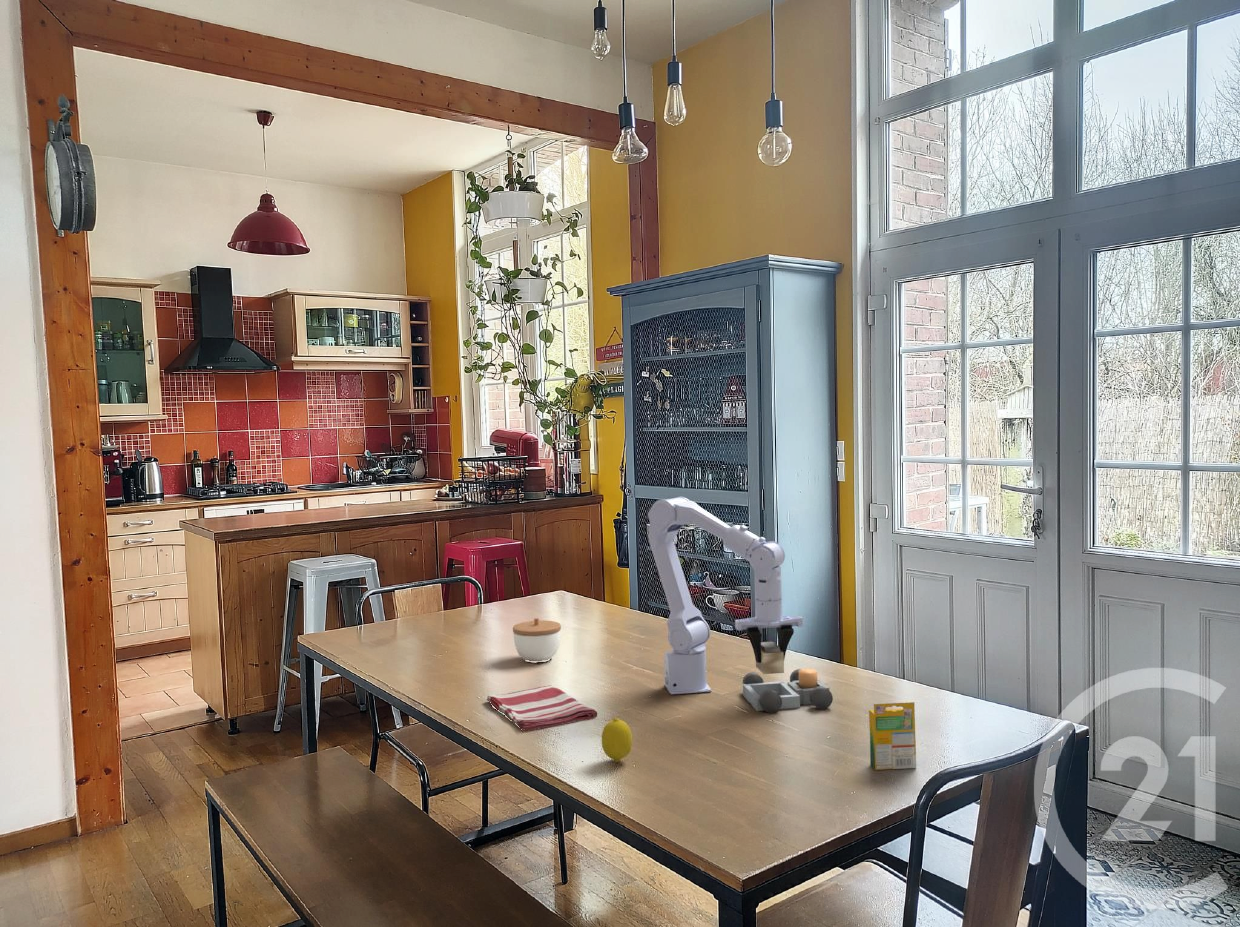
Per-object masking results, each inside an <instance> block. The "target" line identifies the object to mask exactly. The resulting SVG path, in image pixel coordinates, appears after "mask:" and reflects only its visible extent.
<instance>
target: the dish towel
mask: <svg viewBox="0 0 1240 927" xmlns="http://www.w3.org/2000/svg"><path fill="white" fill-rule="evenodd" d="M486 701H487V702H488V701H489V702H491V704H492V705H493V706H494V707H495V708H496V709H497V710H499V711H500V712H502V713H504V714H505V715H506V716H507V717H508V718H509V719H510V720H512V721H513V722H514V723H516V724H517V725H518V726H519V727H520V728H521V729H522V730H523V731H526V732H528V731H527V730H531V731H533V730H532V729H536V730H539V729H538V728H541V729H544V728H543V727H545V728H550V727H549V726H551V727H556V726H555V725H557V726H560V725H561V726H562V725H565V723H566V724H569V723H574V721H575V722H580V721H585V720H586V719H587V720H591V719H594V718H597V716H598V711H596V710H595V709H593V708H591V707H588V706H586V705H584V704H582V703H581V702H579V701H578V700H577V699H576V698H574V697H573V696H571V695H569V694H568V693H566V692H565V691H563V690H562V689H560V688H558V687H554V686H553V685H551V684H550V685H544V686H538V687H534V688H530V689H523V690H518V691H514V692H509V693H502V694H488V695H487V698H486ZM489 702H488V703H489ZM500 712H499V713H500ZM510 720H509V721H510ZM587 720H586V721H587ZM514 723H513V724H514ZM519 727H518V728H519ZM520 728H519V729H520ZM521 729H520V730H521ZM522 730H521V731H522ZM523 731H522V732H523Z"/></svg>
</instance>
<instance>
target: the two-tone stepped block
mask: <svg viewBox="0 0 1240 927" xmlns="http://www.w3.org/2000/svg"><path fill="white" fill-rule="evenodd" d="M784 663H785V659H784V654H783V652H782V651H781V650H780V647H779V646H778V643H776V642H774V641H763V642H762V641H761V663H758V662H757V661H756V660H755V667H756V668H757V669H758V670H759V671H760V672H761V673H762V674H763V675H770V674H783V673H785V664H784Z"/></svg>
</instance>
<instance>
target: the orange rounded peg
mask: <svg viewBox="0 0 1240 927" xmlns="http://www.w3.org/2000/svg"><path fill="white" fill-rule="evenodd" d="M800 669H801V670H799V686H801V687H803V689H805V688H814V687H816V686H817V685H818V684H817V680H818V671H817V670H816V669H813V668H800Z"/></svg>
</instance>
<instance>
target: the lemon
mask: <svg viewBox="0 0 1240 927" xmlns="http://www.w3.org/2000/svg"><path fill="white" fill-rule="evenodd" d="M632 746H633V735H632V732H631V728H630V727H629V725H628V723H626V722H625V721H624V720H621V719H619V718H618V717H616V718H614V719H612V720H610V721H608V722H607V723H606V724H605V726H604V727H603V729H602V733H601V747H602V750H603V752H604V754H605V755H606V756H607V757H608V758H610V759H612V760H614V761H615V762H616V763H619V762H621V760H622V759H624V758H625V757H627V756H628V755H630V751H631V750H632Z"/></svg>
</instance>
